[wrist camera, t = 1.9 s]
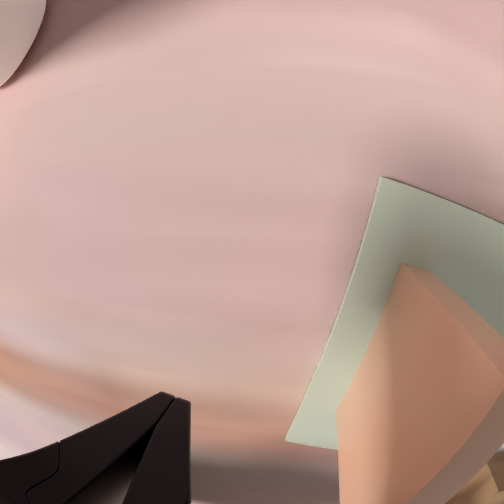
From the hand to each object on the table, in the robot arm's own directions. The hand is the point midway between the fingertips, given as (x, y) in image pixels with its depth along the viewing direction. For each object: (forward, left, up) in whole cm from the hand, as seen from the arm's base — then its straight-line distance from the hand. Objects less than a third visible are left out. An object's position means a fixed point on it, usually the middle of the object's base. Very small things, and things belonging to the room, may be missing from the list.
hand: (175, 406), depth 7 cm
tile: (0, -7, -6) cm, 9 cm away
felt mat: (0, -11, -6) cm, 12 cm away
